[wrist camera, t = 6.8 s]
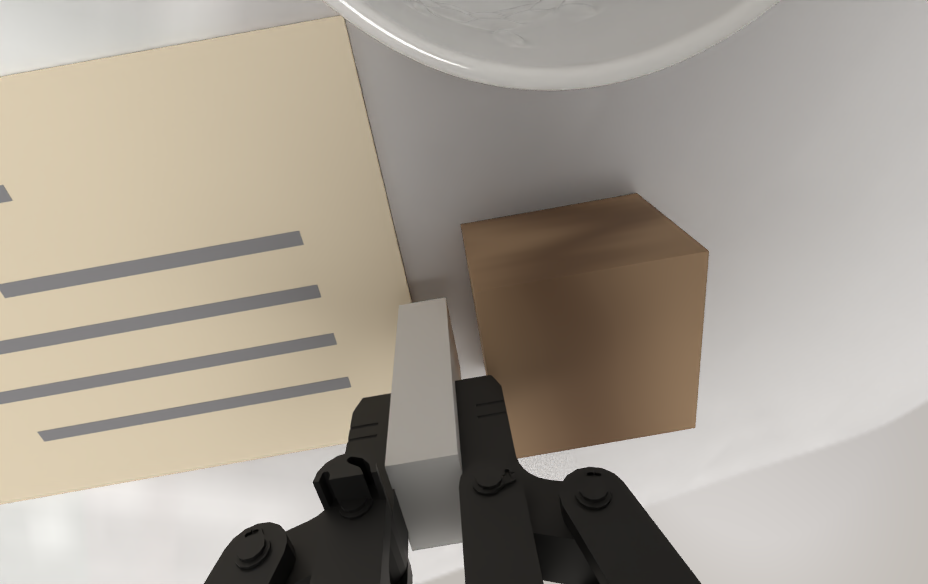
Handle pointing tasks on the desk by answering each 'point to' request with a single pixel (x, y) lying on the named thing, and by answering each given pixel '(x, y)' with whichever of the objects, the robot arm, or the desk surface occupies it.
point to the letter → (190, 259)
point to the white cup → (550, 36)
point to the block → (589, 321)
